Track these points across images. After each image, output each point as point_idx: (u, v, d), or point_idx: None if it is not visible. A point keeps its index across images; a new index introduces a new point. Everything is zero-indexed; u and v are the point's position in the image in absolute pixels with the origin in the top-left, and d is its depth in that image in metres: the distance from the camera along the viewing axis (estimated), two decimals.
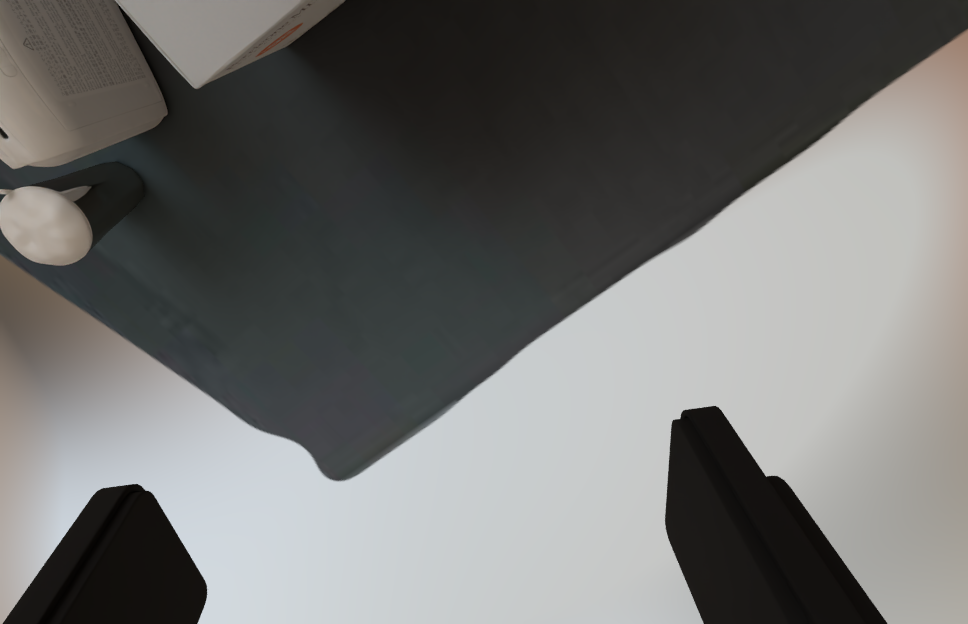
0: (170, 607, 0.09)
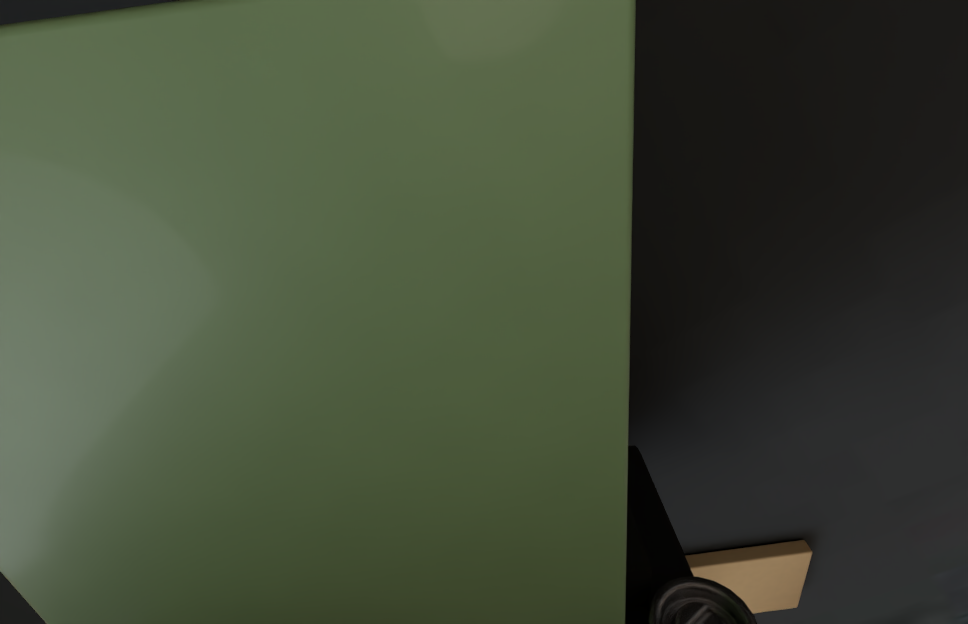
0: None
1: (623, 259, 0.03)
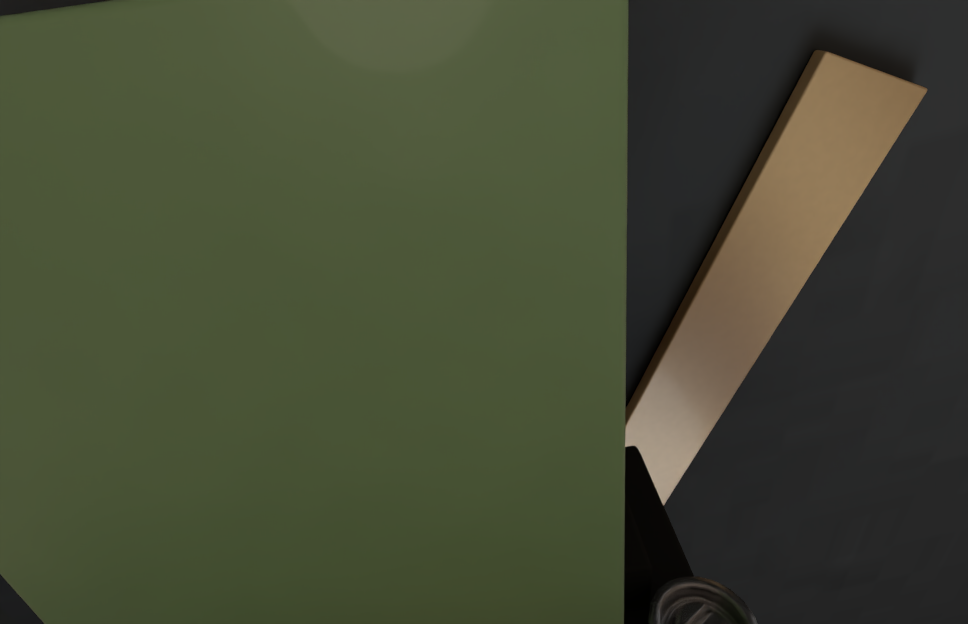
0: None
1: (618, 252, 0.03)
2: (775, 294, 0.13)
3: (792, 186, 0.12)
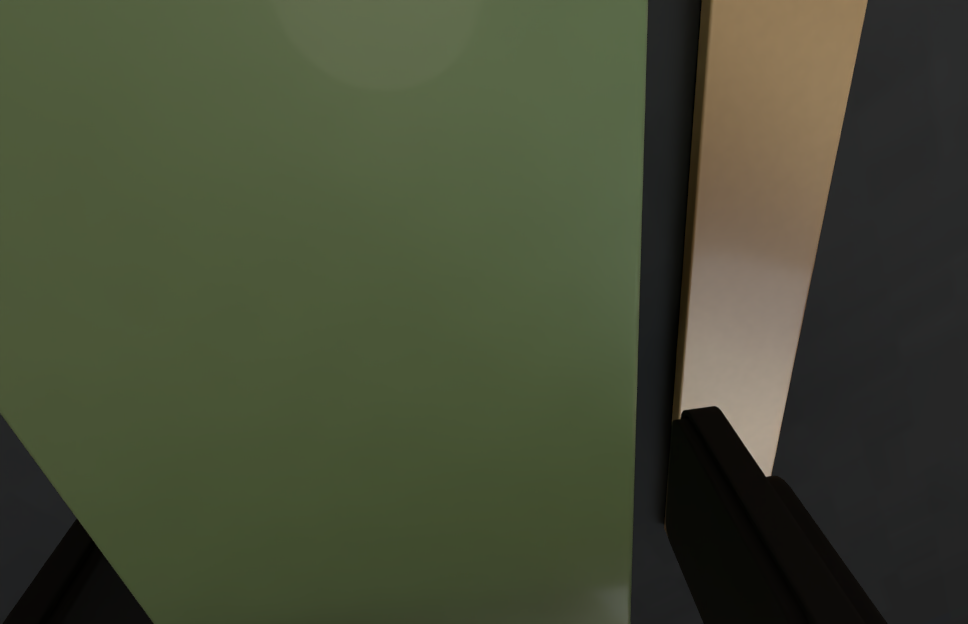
0: None
1: (635, 187, 0.04)
2: (800, 185, 0.10)
3: (760, 44, 0.08)
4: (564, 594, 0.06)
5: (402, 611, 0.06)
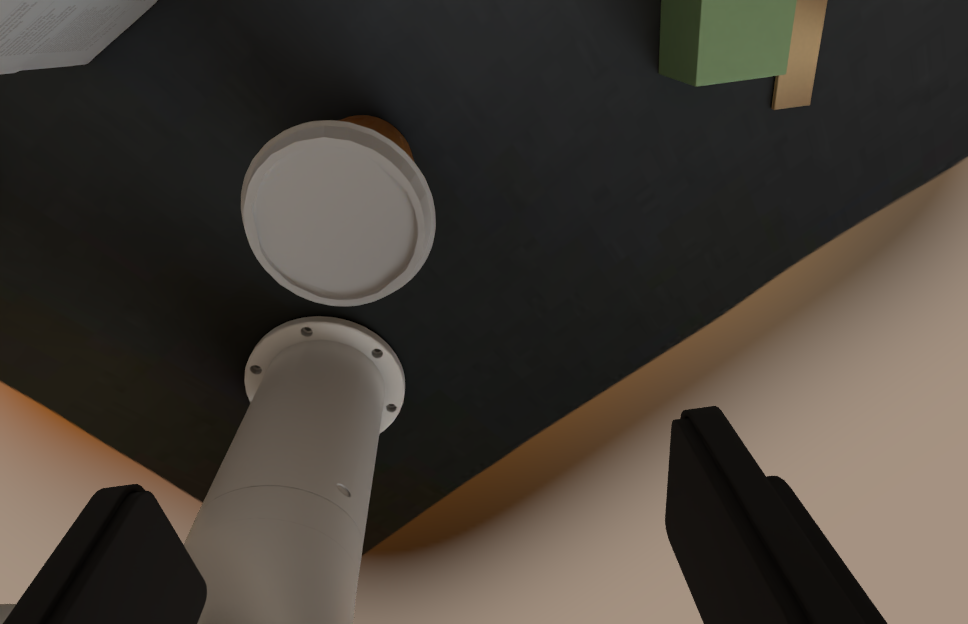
0: (170, 607, 0.09)
1: None
2: None
3: None
4: None
5: None
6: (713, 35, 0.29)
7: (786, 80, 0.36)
